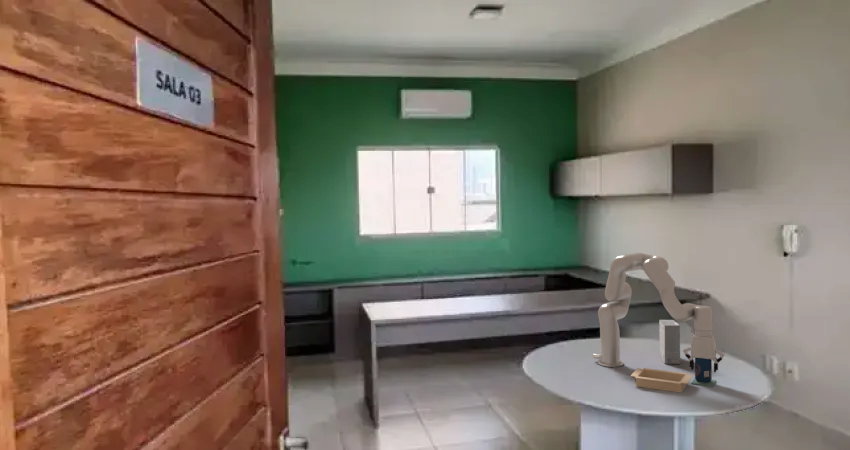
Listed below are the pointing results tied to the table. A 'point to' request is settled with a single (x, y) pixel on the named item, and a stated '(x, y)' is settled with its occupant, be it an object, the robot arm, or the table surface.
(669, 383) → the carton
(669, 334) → the hard drive box
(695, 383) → the coaster
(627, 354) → the table surface
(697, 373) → the soda can
